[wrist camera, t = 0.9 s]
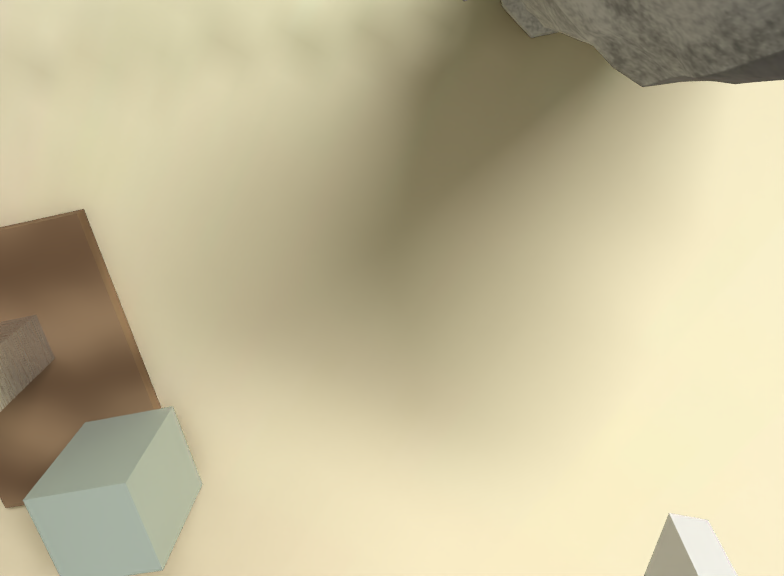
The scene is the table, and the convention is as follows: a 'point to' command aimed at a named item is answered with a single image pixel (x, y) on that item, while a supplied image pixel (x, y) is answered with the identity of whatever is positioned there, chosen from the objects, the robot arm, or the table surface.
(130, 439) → the pale blue-grey block
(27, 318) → the post
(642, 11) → the figurine
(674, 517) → the robot arm
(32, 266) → the stand
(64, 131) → the table surface
